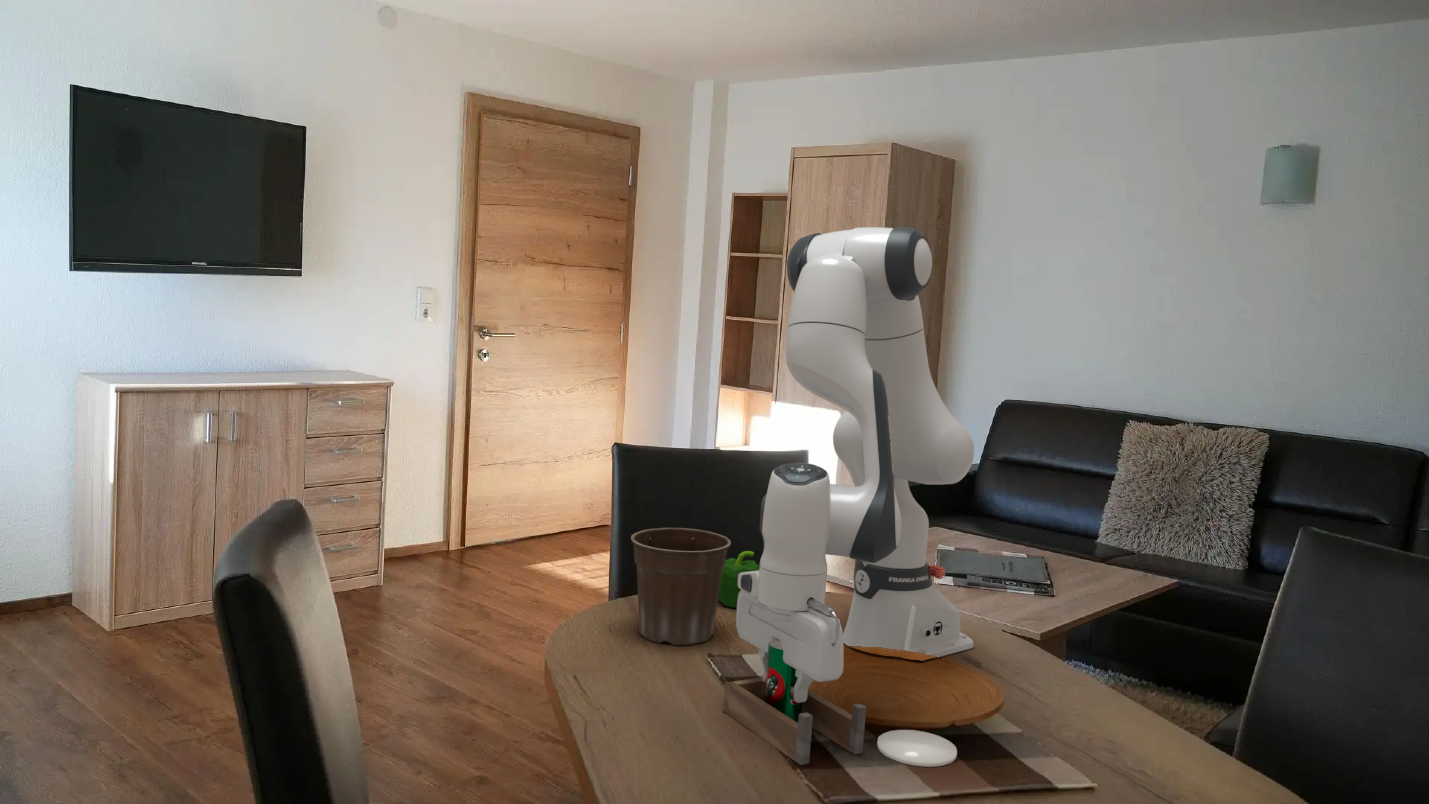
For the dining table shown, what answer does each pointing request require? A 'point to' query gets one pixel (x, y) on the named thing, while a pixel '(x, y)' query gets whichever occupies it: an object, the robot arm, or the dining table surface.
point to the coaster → (917, 748)
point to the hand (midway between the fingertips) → (784, 691)
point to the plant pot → (678, 583)
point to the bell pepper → (734, 578)
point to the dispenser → (786, 733)
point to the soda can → (780, 682)
